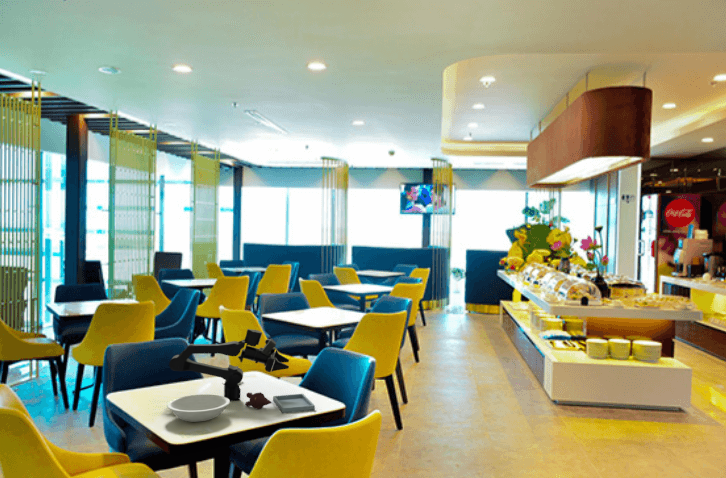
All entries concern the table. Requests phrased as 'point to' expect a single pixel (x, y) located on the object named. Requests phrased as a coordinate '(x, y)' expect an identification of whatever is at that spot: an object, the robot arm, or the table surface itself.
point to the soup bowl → (198, 407)
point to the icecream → (257, 400)
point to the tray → (293, 403)
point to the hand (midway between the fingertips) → (288, 364)
